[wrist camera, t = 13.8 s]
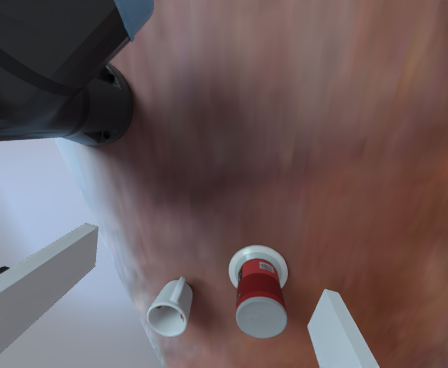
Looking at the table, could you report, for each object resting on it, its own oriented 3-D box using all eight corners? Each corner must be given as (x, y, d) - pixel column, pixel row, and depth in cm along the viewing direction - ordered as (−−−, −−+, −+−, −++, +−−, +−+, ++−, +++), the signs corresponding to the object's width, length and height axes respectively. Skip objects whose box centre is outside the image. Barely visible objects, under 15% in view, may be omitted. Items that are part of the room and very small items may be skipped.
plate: (223, 285, 46) (222, 288, 46) (237, 238, 43) (236, 240, 42) (276, 300, 46) (277, 303, 45) (295, 253, 43) (296, 256, 42)
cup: (171, 259, 46) (156, 286, 38) (205, 272, 46) (197, 301, 38) (158, 296, 49) (142, 328, 41) (190, 309, 49) (180, 343, 41)
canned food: (233, 261, 44) (229, 305, 33) (271, 252, 42) (279, 294, 32) (244, 292, 45) (244, 342, 35) (281, 284, 44) (293, 334, 33)
